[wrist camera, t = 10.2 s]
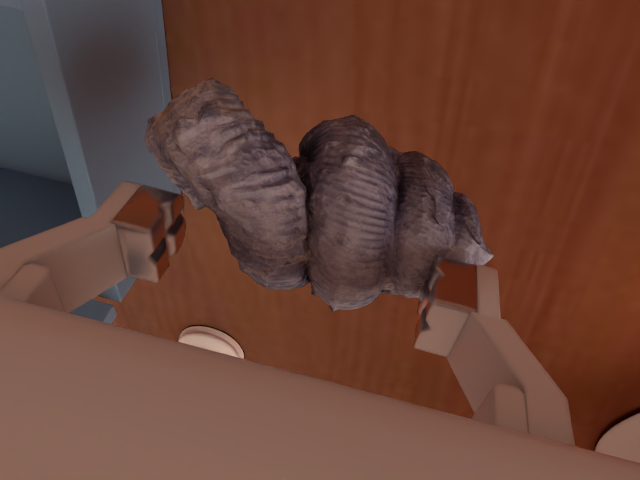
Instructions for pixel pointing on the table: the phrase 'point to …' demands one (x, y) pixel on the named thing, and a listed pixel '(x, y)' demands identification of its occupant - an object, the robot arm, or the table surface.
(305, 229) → the seashell
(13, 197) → the chest
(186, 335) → the chess piece
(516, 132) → the table surface
